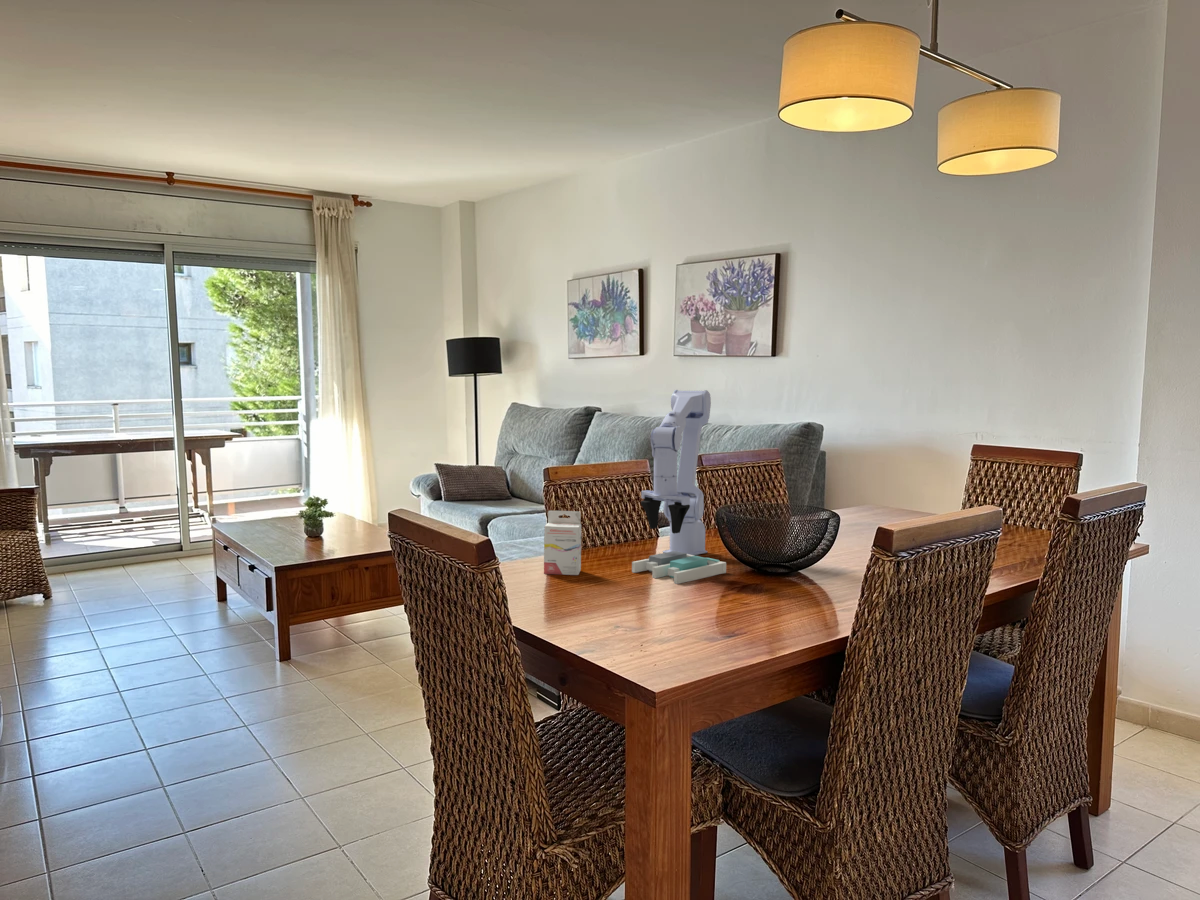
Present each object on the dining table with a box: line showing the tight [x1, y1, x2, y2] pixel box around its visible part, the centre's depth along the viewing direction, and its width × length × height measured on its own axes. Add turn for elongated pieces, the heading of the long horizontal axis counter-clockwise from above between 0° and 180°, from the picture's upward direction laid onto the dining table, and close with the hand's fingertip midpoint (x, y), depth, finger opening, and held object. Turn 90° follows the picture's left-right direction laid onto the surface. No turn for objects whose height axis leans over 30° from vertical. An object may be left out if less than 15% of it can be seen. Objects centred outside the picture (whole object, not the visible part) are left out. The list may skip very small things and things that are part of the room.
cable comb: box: [631, 554, 727, 585], centre depth 199 cm, size 17×15×3 cm
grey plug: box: [646, 551, 687, 573], centre depth 201 cm, size 13×4×4 cm, turn 131°
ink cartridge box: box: [543, 510, 582, 576], centre depth 198 cm, size 9×5×15 cm, turn 84°
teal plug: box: [667, 555, 709, 579], centre depth 196 cm, size 13×4×4 cm, turn 134°
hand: (664, 530), depth 203 cm, fingers open, 7 cm apart
